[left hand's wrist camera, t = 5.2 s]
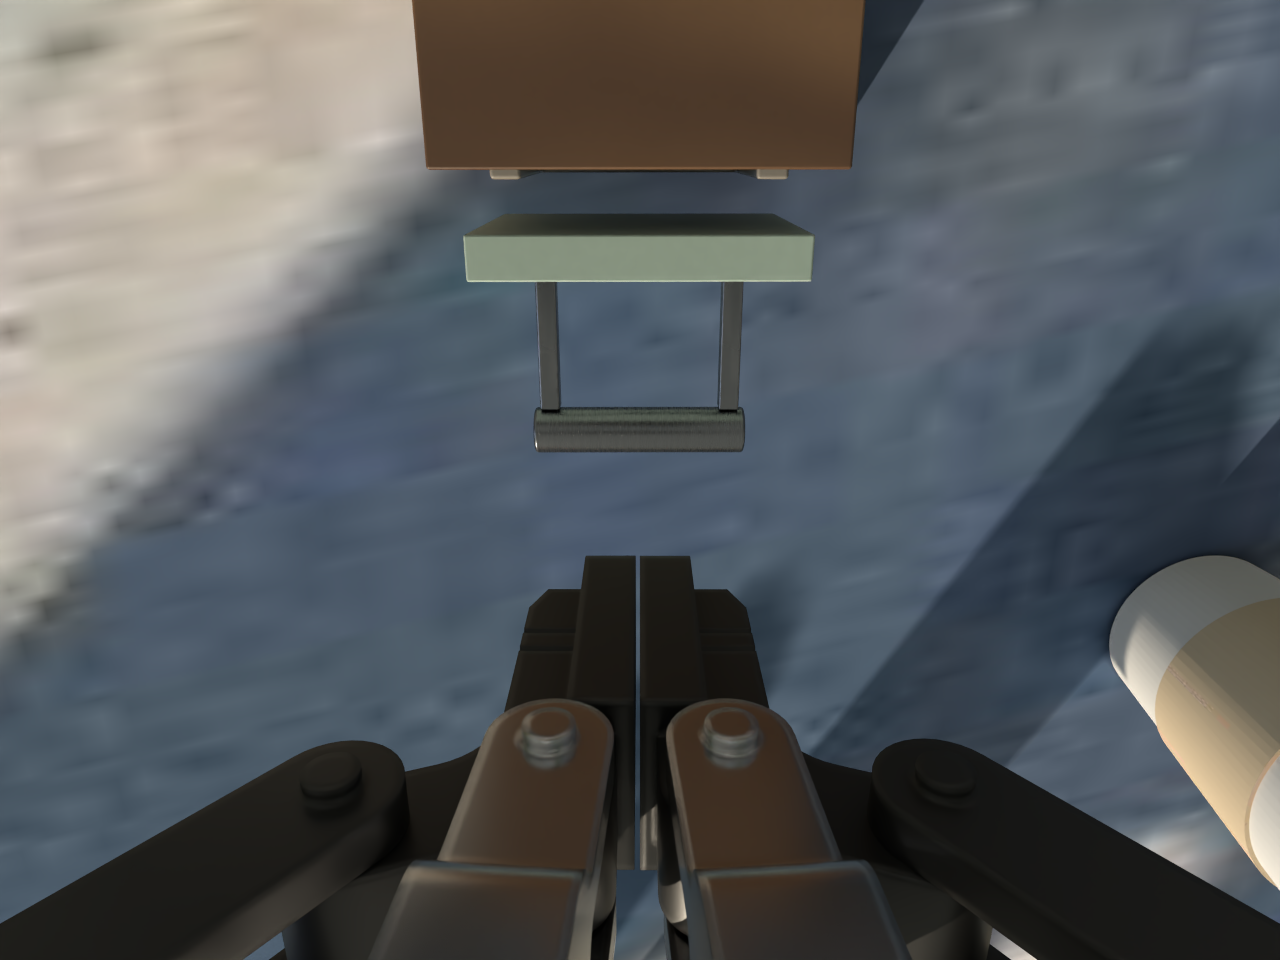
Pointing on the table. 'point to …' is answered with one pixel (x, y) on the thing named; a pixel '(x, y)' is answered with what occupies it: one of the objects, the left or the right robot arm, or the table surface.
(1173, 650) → the coffee cup
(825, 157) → the cabinet
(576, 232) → the drawer
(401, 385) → the table surface
